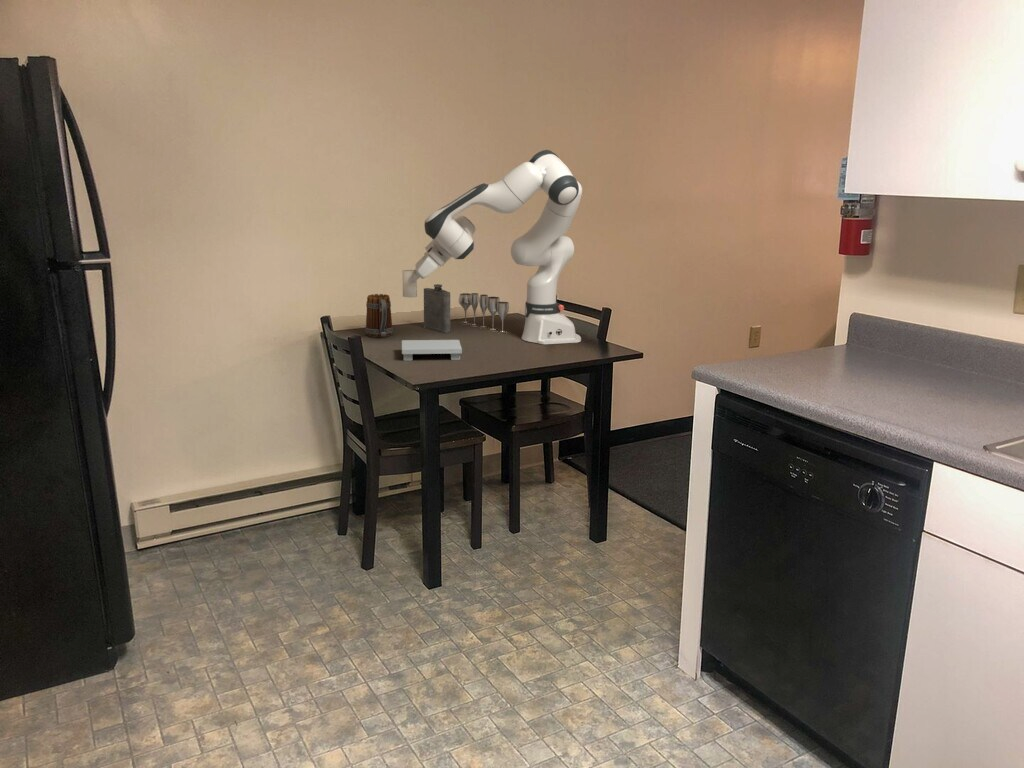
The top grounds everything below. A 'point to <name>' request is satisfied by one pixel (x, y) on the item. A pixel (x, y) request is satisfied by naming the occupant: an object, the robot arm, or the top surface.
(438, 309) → the flask
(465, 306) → the goblet set
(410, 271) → the white rounded cylinder
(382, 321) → the mug
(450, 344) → the shelf
